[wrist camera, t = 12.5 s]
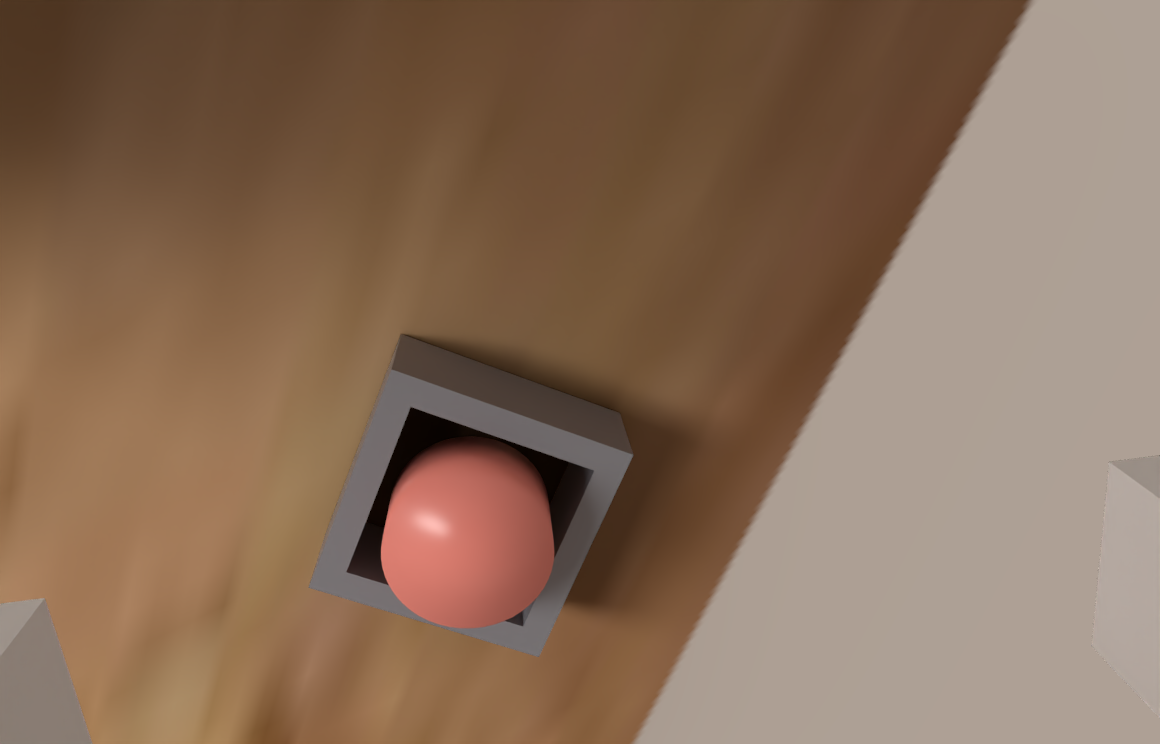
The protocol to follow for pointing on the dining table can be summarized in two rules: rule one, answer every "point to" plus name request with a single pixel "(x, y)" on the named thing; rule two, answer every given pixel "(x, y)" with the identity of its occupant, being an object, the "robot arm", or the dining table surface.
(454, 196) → the dining table surface
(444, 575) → the button
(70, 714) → the robot arm
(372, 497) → the button housing
